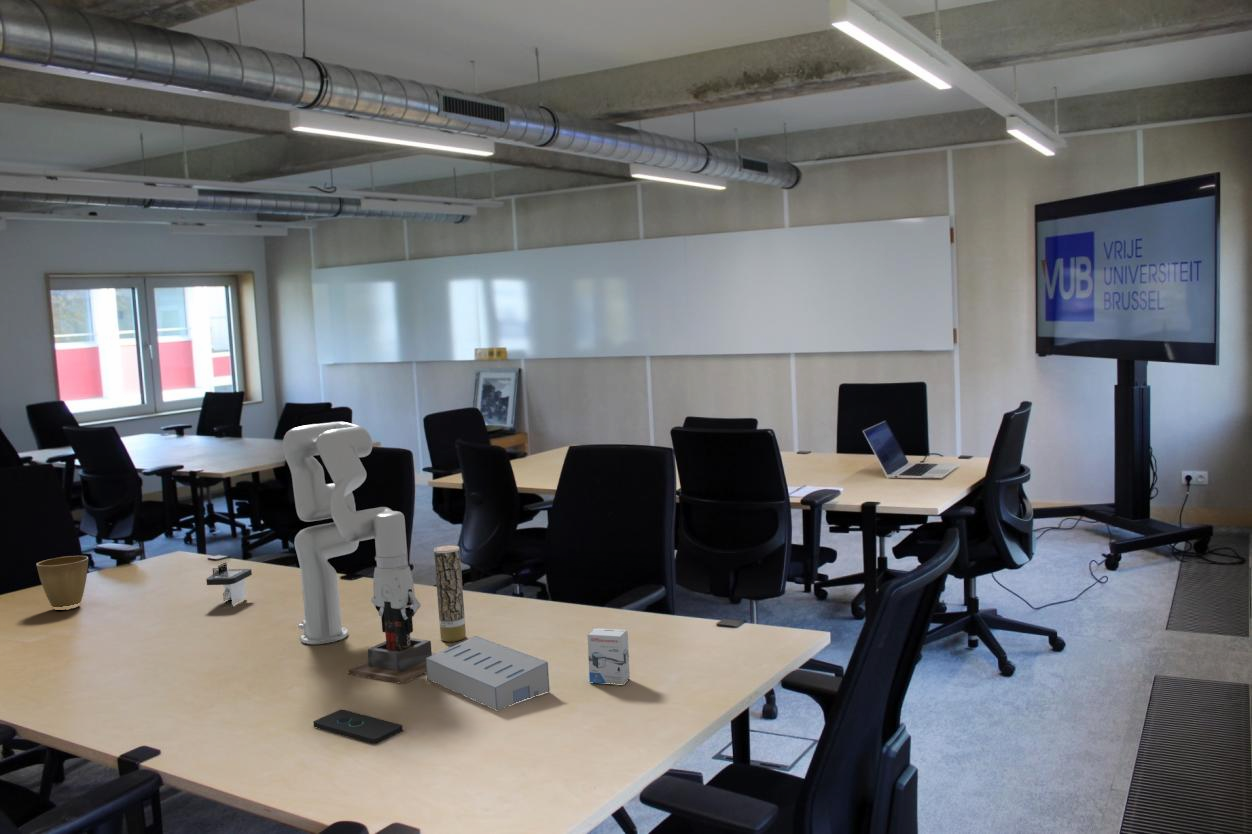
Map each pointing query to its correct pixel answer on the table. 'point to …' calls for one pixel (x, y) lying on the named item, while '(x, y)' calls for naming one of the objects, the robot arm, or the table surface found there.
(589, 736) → the table surface
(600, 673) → the ink box
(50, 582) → the plant pot
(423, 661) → the holder
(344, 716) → the smart home device
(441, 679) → the warehouse
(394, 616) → the deodorant
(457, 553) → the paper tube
